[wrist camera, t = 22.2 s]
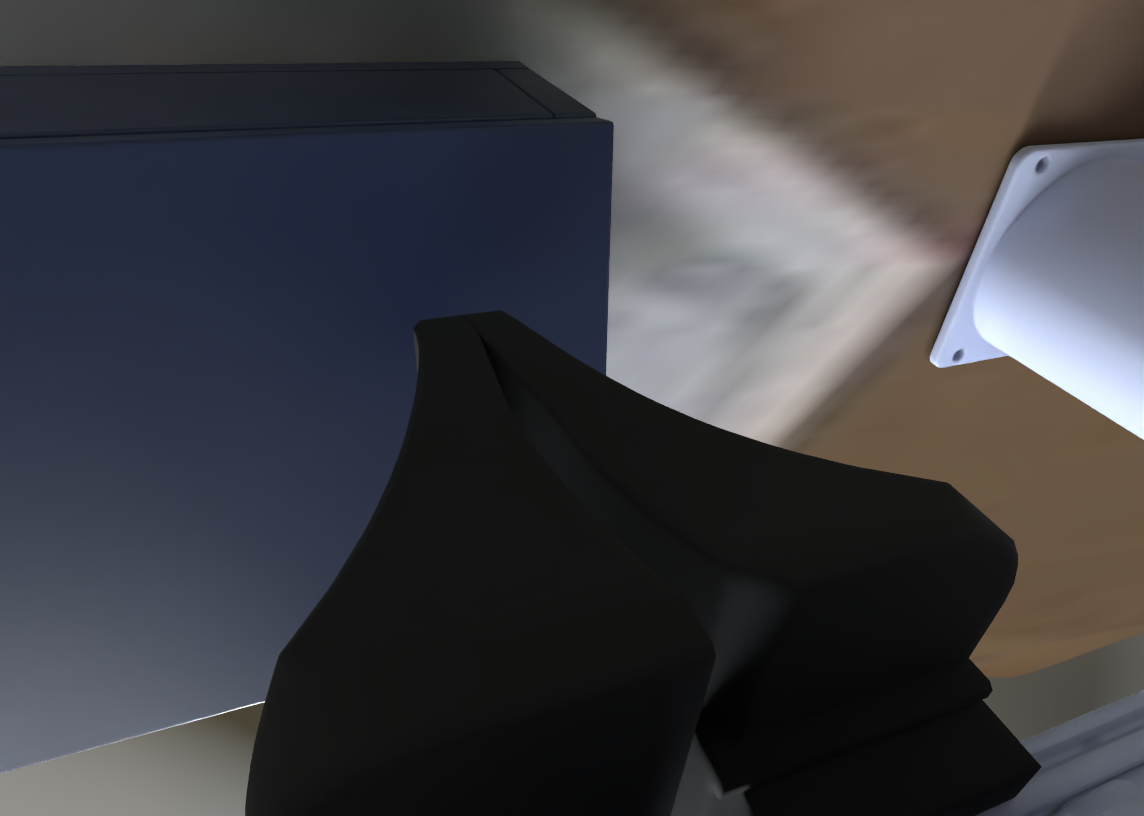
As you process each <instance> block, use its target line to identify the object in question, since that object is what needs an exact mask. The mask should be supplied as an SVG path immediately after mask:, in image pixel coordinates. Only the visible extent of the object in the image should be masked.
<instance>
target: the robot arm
mask: <svg viewBox="0 0 1144 816" xmlns="http://www.w3.org/2000/svg"><path fill="white" fill-rule="evenodd" d="M413 337H414V348H415V358H416V369H417V384H416V392H415V398H414V402H413V406H412V411H411V415H410V419H409V423H408V427H407V431H406V434H405V438H404V441H403V444H402V447H401V450H400V453H399V456H398V459H397V461H396V464H395V466H394V469H393V472H392V474H391V477H390V479H389V481H388V484H387V486H386V488H385V490H384V492H383V494H382V497H381V499H380V501H379V503H378V505H377V508H376V510H375V512H374V514H373V516H372V518H371V519H370V521H369V523H368V525H367V527H366V529H365V531H364V533H363V534H362V536H361V537H360V539H359V541H358V542H357V544H356V546H355V547H354V549H353V551H352V552H351V554H350V556H349V557H348V559H347V560H346V562H345V564H344V565H343V567H342V569H341V570H340V572H339V574H338V575H337V577H336V579H335V580H334V581H333V583H332V584H331V586H330V587H329V589H328V590H327V592H326V593H325V595H324V596H323V597H322V599H321V600H320V601H319V603H318V604H317V605H316V607H315V608H314V609H313V611H312V612H311V613H310V615H309V616H308V617H307V618H306V620H305V621H304V622H303V624H302V625H301V626H300V628H299V629H298V630H297V632H296V633H295V634H294V636H293V637H292V638H291V640H290V641H289V642H288V644H287V645H286V646H285V648H284V649H283V650H282V651H281V653H280V654H279V656H278V660H277V663H276V666H275V669H274V672H273V676H272V679H271V683H270V686H269V689H268V693H267V696H266V700H265V703H264V707H263V711H262V715H261V719H260V723H259V727H258V731H257V735H256V739H255V744H254V749H253V754H252V760H251V765H250V773H249V781H248V788H247V796H246V806H245V816H1144V690H1141V691H1139V692H1136V693H1134V694H1132V695H1129V696H1127V697H1125V698H1122V699H1120V700H1118V701H1115V702H1113V703H1110V704H1108V705H1105V706H1103V707H1101V708H1098V709H1096V710H1093V711H1092V712H1089V713H1086V714H1084V715H1081V716H1079V717H1077V718H1074V719H1072V720H1069V721H1067V722H1065V723H1062V724H1060V725H1057V726H1055V727H1053V728H1050V729H1048V730H1046V731H1044V732H1041V733H1038V734H1036V735H1034V736H1031V737H1029V738H1026V739H1024V740H1022V741H1018V740H1017V738H1016V737H1015V736H1014V735H1013V734H1012V733H1011V732H1010V730H1009V729H1008V728H1007V727H1006V726H1005V725H1004V724H1003V723H1002V721H1001V720H1000V719H999V718H998V717H997V716H996V715H995V714H994V712H993V711H992V710H991V709H990V708H989V707H988V706H987V705H986V704H985V702H984V701H983V700H982V699H985V698H987V697H988V696H989V694H990V693H991V692H992V687H991V683H990V681H989V680H988V679H987V677H986V676H985V675H984V674H983V673H982V672H981V671H980V670H979V669H978V668H977V667H976V666H975V664H974V663H973V662H972V661H971V660H970V659H969V656H970V655H971V653H972V652H973V650H974V649H975V647H976V646H977V644H978V642H979V641H980V639H981V638H982V636H983V635H984V633H985V632H986V630H987V628H988V627H989V625H990V624H991V622H992V621H993V619H994V618H995V616H996V614H997V613H998V611H999V610H1000V608H1001V607H1002V605H1003V604H1004V602H1005V600H1006V598H1007V596H1008V594H1009V592H1010V590H1011V588H1012V586H1013V584H1014V581H1015V576H1016V571H1017V566H1018V554H1017V550H1016V547H1015V543H1014V540H1013V539H1011V538H1010V537H1009V536H1008V535H1007V534H1006V533H1005V532H1003V531H1002V530H1001V529H1000V528H999V527H998V526H997V525H996V524H994V523H993V522H992V521H991V520H990V519H989V518H988V517H986V516H985V515H984V514H983V513H982V512H981V511H980V510H979V509H977V508H976V507H975V506H974V505H973V504H972V503H971V502H969V501H968V500H967V499H966V498H965V497H964V496H963V495H962V494H960V493H959V492H958V491H957V490H956V489H955V488H954V487H952V486H951V485H950V484H948V483H946V482H941V481H935V480H929V479H924V478H918V477H912V476H906V475H901V474H895V473H889V472H884V471H878V470H872V469H866V468H861V467H856V466H851V465H846V464H842V463H838V462H834V461H830V460H826V459H822V458H818V457H813V456H809V455H805V454H801V453H797V452H794V451H790V450H787V449H783V448H780V447H776V446H772V445H769V444H766V443H762V442H759V441H756V440H753V439H750V438H747V437H744V436H741V435H738V434H735V433H732V432H729V431H726V430H723V429H720V428H718V427H715V426H712V425H710V424H707V423H704V422H702V421H699V420H697V419H694V418H692V417H690V416H687V415H685V414H683V413H680V412H678V411H676V410H673V409H671V408H669V407H666V406H664V405H662V404H659V403H657V402H655V401H653V400H651V399H649V398H647V397H645V396H643V395H641V394H639V393H637V392H635V391H633V390H631V389H629V388H627V387H626V386H624V385H622V384H620V383H618V382H616V381H614V380H613V379H611V378H609V377H607V376H605V375H603V374H602V373H600V372H598V371H597V370H595V369H593V368H591V367H590V366H588V365H586V364H585V363H583V362H581V361H580V360H578V359H577V358H575V357H573V356H572V355H570V354H569V353H567V352H565V351H564V350H562V349H561V348H559V347H558V346H556V345H555V344H553V343H552V342H550V341H548V340H547V339H545V338H544V337H542V336H541V335H539V334H538V333H536V332H535V331H533V330H532V329H530V328H529V327H527V326H526V325H524V324H523V323H521V322H520V321H518V320H517V319H515V318H514V317H512V316H510V315H509V314H507V313H505V312H504V311H502V310H498V311H490V312H482V313H474V314H466V315H458V316H450V317H441V318H433V319H425V320H420V321H419V322H418V323H417V324H416V325H415V326H414V327H413ZM1008 355H1009V356H1011V357H1012V358H1014V359H1016V360H1017V361H1019V362H1020V363H1022V364H1024V365H1025V366H1027V367H1028V368H1030V369H1032V370H1033V371H1035V372H1036V373H1038V374H1040V375H1041V376H1043V377H1044V378H1046V379H1048V380H1049V381H1051V382H1052V383H1054V384H1056V385H1057V386H1059V387H1060V388H1062V389H1063V390H1065V391H1067V392H1068V393H1070V394H1071V395H1073V396H1075V397H1076V398H1078V399H1079V400H1081V401H1083V402H1084V403H1086V404H1087V405H1089V406H1091V407H1092V408H1094V409H1095V410H1097V411H1099V412H1100V413H1102V414H1103V415H1105V416H1107V417H1108V418H1110V419H1111V420H1113V421H1115V422H1116V423H1118V424H1119V425H1121V426H1123V427H1124V428H1126V429H1127V430H1129V431H1130V432H1132V433H1134V434H1135V435H1137V436H1138V437H1140V438H1142V439H1143V440H1144V139H1129V140H1113V141H1097V142H1081V143H1066V144H1050V145H1034V146H1026V147H1023V148H1022V149H1021V150H1019V151H1018V152H1017V153H1016V154H1015V155H1014V156H1013V158H1012V159H1011V161H1010V163H1009V166H1008V168H1007V170H1006V173H1005V175H1004V178H1003V180H1002V182H1001V185H1000V187H999V190H998V192H997V195H996V197H995V199H994V202H993V204H992V207H991V209H990V211H989V214H988V216H987V219H986V221H985V224H984V226H983V228H982V231H981V233H980V236H979V238H978V240H977V243H976V245H975V248H974V250H973V253H972V255H971V257H970V260H969V262H968V265H967V267H966V269H965V272H964V274H963V277H962V279H961V282H960V284H959V286H958V289H957V291H956V294H955V296H954V298H953V301H952V303H951V306H950V308H949V311H948V313H947V315H946V318H945V320H944V323H943V325H942V327H941V330H940V332H939V335H938V337H937V340H936V342H935V344H934V347H933V349H932V352H931V355H930V362H932V363H933V364H934V365H936V366H937V367H939V368H943V367H949V366H954V365H959V364H965V363H970V362H975V361H981V360H986V359H992V358H997V357H1002V356H1008Z"/></svg>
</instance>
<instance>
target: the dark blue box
mask: <svg viewBox="0 0 1144 816" xmlns="http://www.w3.org/2000/svg"><path fill="white" fill-rule="evenodd" d="M590 117H596V114H595V113H594V112H593V111H591V110H590V109H588V108H587V107H585V106H584V105H582V104H581V103H580V102H578V101H577V100H575V99H574V98H572V97H571V96H569V95H568V94H566V93H565V92H563V91H562V90H560V89H559V88H557V87H556V86H554V85H553V84H551V83H550V82H549V81H547V80H546V79H544V78H543V77H541V76H540V75H538V74H537V73H535V72H534V71H532V70H531V69H530V68H529V67H527V66H526V65H524V64H523V63H521V62H519V61H494V62H393V63H293V64H192V65H91V66H0V139H21V138H49V137H76V136H103V135H130V134H157V133H184V132H211V131H238V130H265V129H292V128H319V127H346V126H373V125H401V124H428V123H455V122H482V121H509V120H536V119H563V118H590Z"/></svg>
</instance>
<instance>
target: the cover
mask: <svg viewBox="0 0 1144 816" xmlns="http://www.w3.org/2000/svg"><path fill="white" fill-rule="evenodd" d="M613 129H614V125H613V122H611V121H608V120H605V119H601V118H598V117H590V118H563V119H536V120H509V121H482V122H455V123H428V124H401V125H373V126H346V127H319V128H292V129H265V130H238V131H211V132H184V133H157V134H130V135H103V136H76V137H49V138H21V139H0V774H1V773H4V772H8V771H12V770H15V769H19V768H22V767H27V766H30V765H34V764H38V763H41V762H45V761H49V760H52V759H56V758H59V757H63V756H67V755H70V754H74V753H78V752H82V751H86V750H89V749H93V748H97V747H100V746H104V745H107V744H111V743H115V742H119V741H122V740H126V739H129V738H133V737H137V736H140V735H144V734H148V733H152V732H155V731H159V730H163V729H166V728H170V727H174V726H177V725H181V724H185V723H188V722H192V721H195V720H200V719H203V718H207V717H210V716H214V715H218V714H222V713H225V712H229V711H233V710H236V709H240V708H243V707H247V706H251V705H255V704H258V703H262V702H265V700H266V696H267V693H268V689H269V686H270V683H271V679H272V676H273V672H274V669H275V666H276V663H277V660H278V656H279V654H280V653H281V651H282V650H283V649H284V648H285V646H286V645H287V644H288V642H289V641H290V640H291V638H292V637H293V636H294V634H295V633H296V632H297V630H298V629H299V628H300V626H301V625H302V624H303V622H304V621H305V620H306V618H307V617H308V616H309V615H310V613H311V612H312V611H313V609H314V608H315V607H316V605H317V604H318V603H319V601H320V600H321V599H322V597H323V596H324V595H325V593H326V592H327V590H328V589H329V587H330V586H331V584H332V583H333V581H334V580H335V579H336V577H337V575H338V574H339V572H340V570H341V569H342V567H343V565H344V564H345V562H346V560H347V559H348V557H349V556H350V554H351V552H352V551H353V549H354V547H355V546H356V544H357V542H358V541H359V539H360V537H361V536H362V534H363V533H364V531H365V529H366V527H367V525H368V523H369V521H370V519H371V518H372V516H373V514H374V512H375V510H376V508H377V505H378V503H379V501H380V499H381V497H382V494H383V492H384V490H385V488H386V486H387V484H388V481H389V479H390V477H391V474H392V472H393V469H394V466H395V464H396V461H397V459H398V456H399V453H400V450H401V447H402V444H403V441H404V438H405V434H406V431H407V427H408V423H409V419H410V415H411V411H412V406H413V402H414V398H415V392H416V384H417V369H416V358H415V348H414V337H413V327H414V326H415V325H416V324H417V323H418V322H419V321H420V320H425V319H433V318H441V317H450V316H458V315H466V314H474V313H482V312H490V311H498V310H502V311H504V312H505V313H507V314H509V315H510V316H512V317H514V318H515V319H517V320H518V321H520V322H521V323H523V324H524V325H526V326H527V327H529V328H530V329H532V330H533V331H535V332H536V333H538V334H539V335H541V336H542V337H544V338H545V339H547V340H548V341H550V342H552V343H553V344H555V345H556V346H558V347H559V348H561V349H562V350H564V351H565V352H567V353H569V354H570V355H572V356H573V357H575V358H577V359H578V360H580V361H581V362H583V363H585V364H586V365H588V366H590V367H591V368H593V369H595V370H597V371H598V372H600V373H602V374H603V375H605V376H606V353H607V321H608V289H609V257H610V225H611V193H612V161H613Z"/></svg>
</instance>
